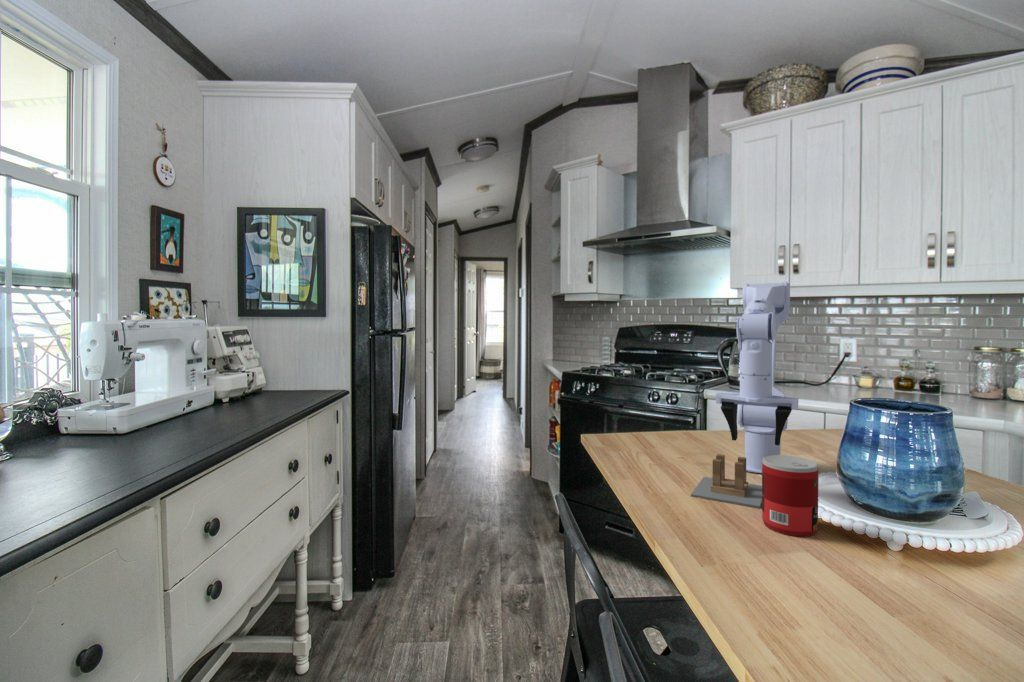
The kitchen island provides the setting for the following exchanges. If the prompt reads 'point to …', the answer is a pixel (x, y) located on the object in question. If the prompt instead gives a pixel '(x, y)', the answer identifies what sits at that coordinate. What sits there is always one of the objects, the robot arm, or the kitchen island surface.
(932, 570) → the kitchen island surface
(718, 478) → the stool
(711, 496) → the mat
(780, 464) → the canned food
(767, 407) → the robot arm
